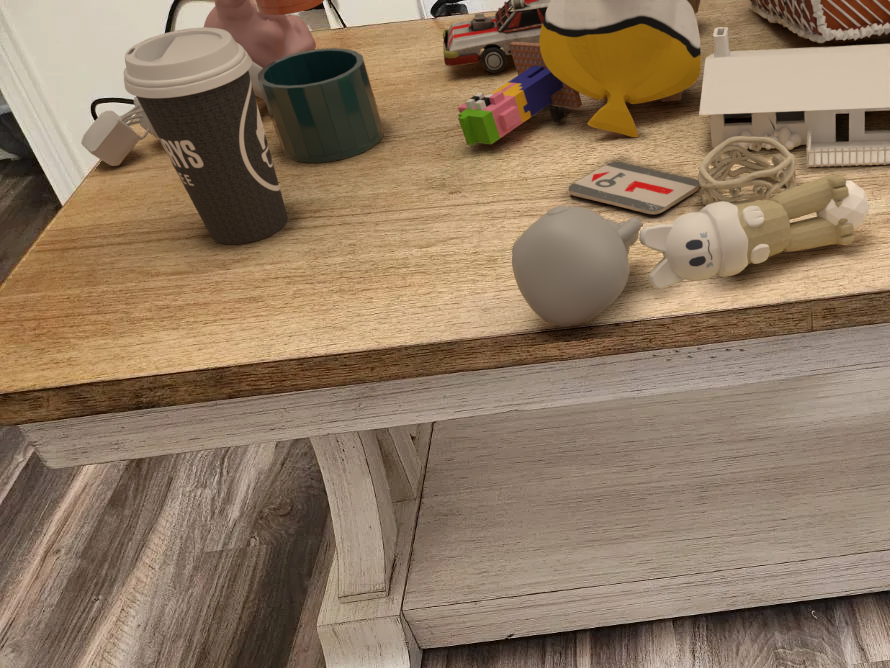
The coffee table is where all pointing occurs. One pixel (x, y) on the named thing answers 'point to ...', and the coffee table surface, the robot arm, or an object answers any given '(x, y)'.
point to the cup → (284, 6)
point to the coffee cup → (210, 129)
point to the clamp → (130, 129)
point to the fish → (621, 52)
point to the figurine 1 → (261, 30)
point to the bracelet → (745, 171)
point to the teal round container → (321, 104)
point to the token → (634, 187)
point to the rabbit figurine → (754, 230)
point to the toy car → (494, 34)
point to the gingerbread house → (827, 17)
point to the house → (800, 98)
